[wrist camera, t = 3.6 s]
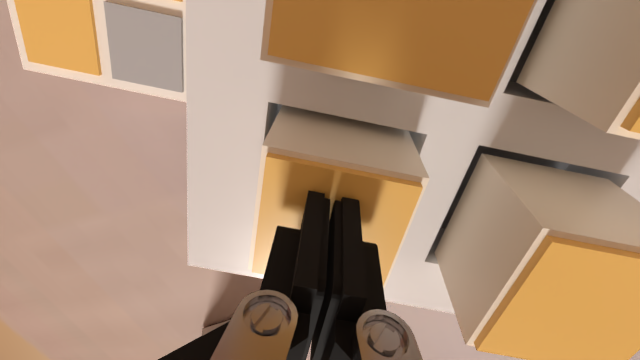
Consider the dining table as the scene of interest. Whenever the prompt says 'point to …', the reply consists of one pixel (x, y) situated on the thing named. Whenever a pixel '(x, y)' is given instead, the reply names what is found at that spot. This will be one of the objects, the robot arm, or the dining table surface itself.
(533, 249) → the button
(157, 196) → the dining table surface
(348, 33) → the button
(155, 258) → the dining table surface
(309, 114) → the button
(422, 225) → the button board
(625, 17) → the button
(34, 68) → the card
